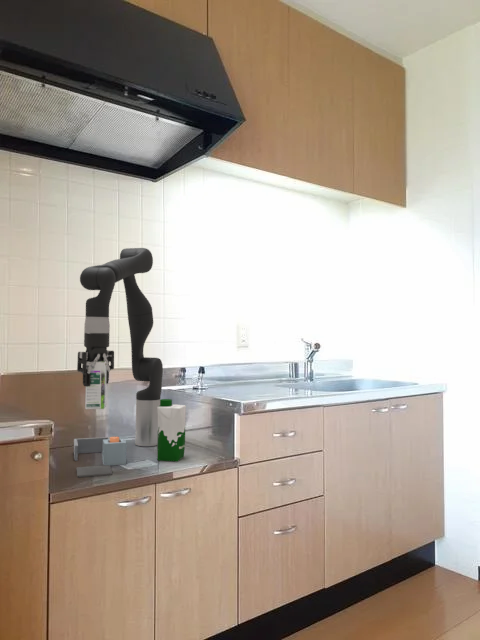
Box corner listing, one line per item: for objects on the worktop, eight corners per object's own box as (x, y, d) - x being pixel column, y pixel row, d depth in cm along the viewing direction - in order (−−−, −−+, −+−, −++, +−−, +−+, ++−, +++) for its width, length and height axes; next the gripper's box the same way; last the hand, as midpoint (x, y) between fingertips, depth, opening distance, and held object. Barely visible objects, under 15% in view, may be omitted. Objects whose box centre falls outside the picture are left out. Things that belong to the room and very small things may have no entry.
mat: (109, 466, 167) (109, 465, 167) (112, 474, 157) (112, 473, 157) (76, 468, 163) (76, 467, 163) (77, 477, 154) (77, 475, 154)
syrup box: (84, 409, 157) (85, 361, 158) (87, 406, 163) (88, 360, 164) (104, 409, 158) (104, 361, 158) (106, 406, 164) (107, 360, 164)
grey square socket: (123, 459, 176) (124, 438, 177) (126, 464, 170) (126, 442, 170) (102, 460, 174) (102, 439, 174) (104, 465, 167) (104, 443, 168)
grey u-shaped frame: (109, 450, 188) (110, 437, 188) (113, 458, 177) (113, 443, 178) (73, 453, 184) (73, 438, 184) (74, 460, 173) (74, 445, 173)
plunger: (118, 454, 174) (118, 436, 174) (119, 456, 171) (119, 438, 171) (109, 454, 173) (109, 436, 173) (109, 457, 170) (110, 438, 170)
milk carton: (162, 455, 183) (163, 397, 184) (187, 456, 182) (188, 399, 182) (153, 461, 175) (154, 401, 175) (179, 462, 173) (180, 402, 173)
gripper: (103, 331, 169) (102, 382, 169) (70, 331, 156) (69, 386, 156) (121, 332, 166) (120, 383, 166) (90, 331, 153) (89, 387, 153)
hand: (95, 384), depth 161 cm, fingers closed on syrup box, 7 cm apart
